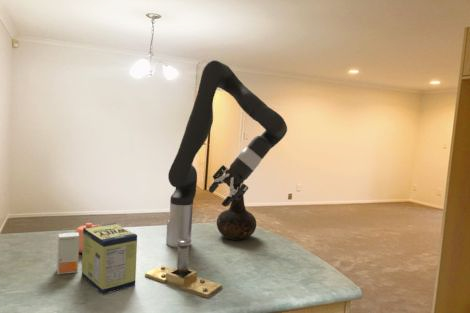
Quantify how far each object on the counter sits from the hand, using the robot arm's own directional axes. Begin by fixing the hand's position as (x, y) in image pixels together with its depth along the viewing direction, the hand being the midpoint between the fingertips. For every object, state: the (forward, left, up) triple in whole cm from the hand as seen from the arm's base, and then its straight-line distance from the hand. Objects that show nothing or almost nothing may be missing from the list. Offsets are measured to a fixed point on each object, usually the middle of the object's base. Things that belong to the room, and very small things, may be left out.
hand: (216, 198), depth 123 cm
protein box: (-18, -30, -24) cm, 43 cm away
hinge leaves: (0, -17, -24) cm, 30 cm away
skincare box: (-33, -33, -24) cm, 53 cm away
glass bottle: (-9, +34, -24) cm, 42 cm away
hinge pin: (0, -17, -24) cm, 30 cm away
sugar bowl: (-44, -16, -24) cm, 53 cm away
